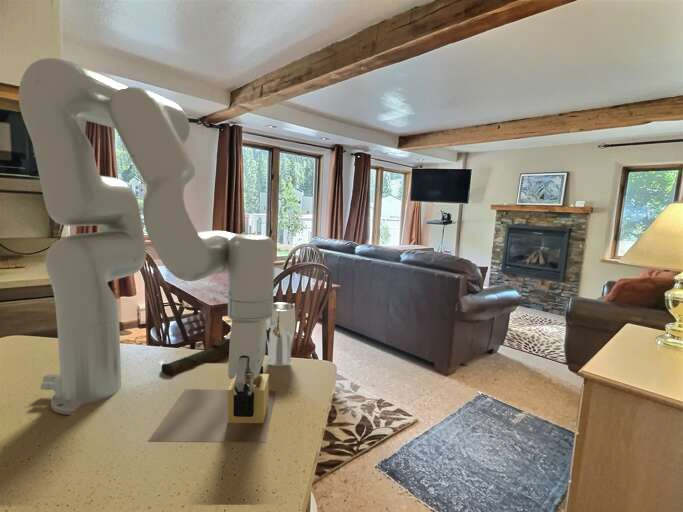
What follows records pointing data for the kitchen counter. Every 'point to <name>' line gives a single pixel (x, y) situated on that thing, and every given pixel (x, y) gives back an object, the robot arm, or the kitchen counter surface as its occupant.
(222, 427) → the post board
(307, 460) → the kitchen counter surface
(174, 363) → the hand tool
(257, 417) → the collar
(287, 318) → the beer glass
